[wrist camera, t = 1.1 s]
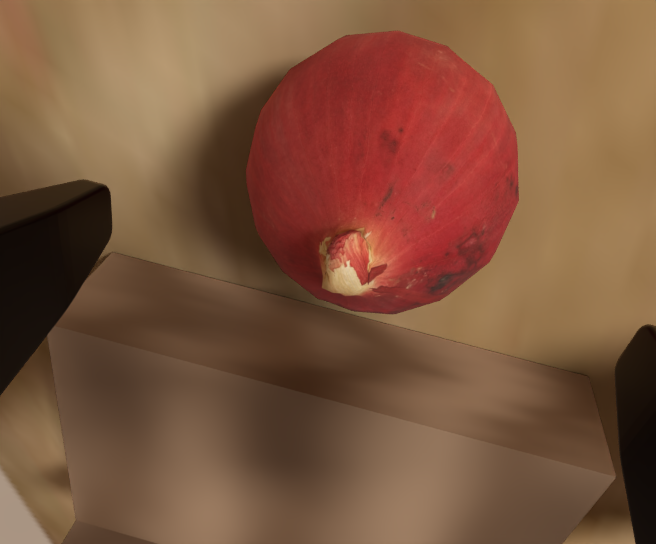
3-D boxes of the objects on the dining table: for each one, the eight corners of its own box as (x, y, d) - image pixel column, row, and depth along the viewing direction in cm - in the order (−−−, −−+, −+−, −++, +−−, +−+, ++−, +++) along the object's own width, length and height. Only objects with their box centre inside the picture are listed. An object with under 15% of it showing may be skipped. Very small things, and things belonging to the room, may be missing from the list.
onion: (555, 109, 14) (635, 290, 8) (405, 248, 18) (376, 459, 11) (382, -50, 13) (312, 10, 7) (254, 129, 16) (121, 289, 10)
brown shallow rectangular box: (588, 376, 19) (634, 544, 14) (473, 554, 26) (477, 708, 21) (111, 252, 20) (0, 370, 15) (123, 457, 27) (50, 583, 22)
